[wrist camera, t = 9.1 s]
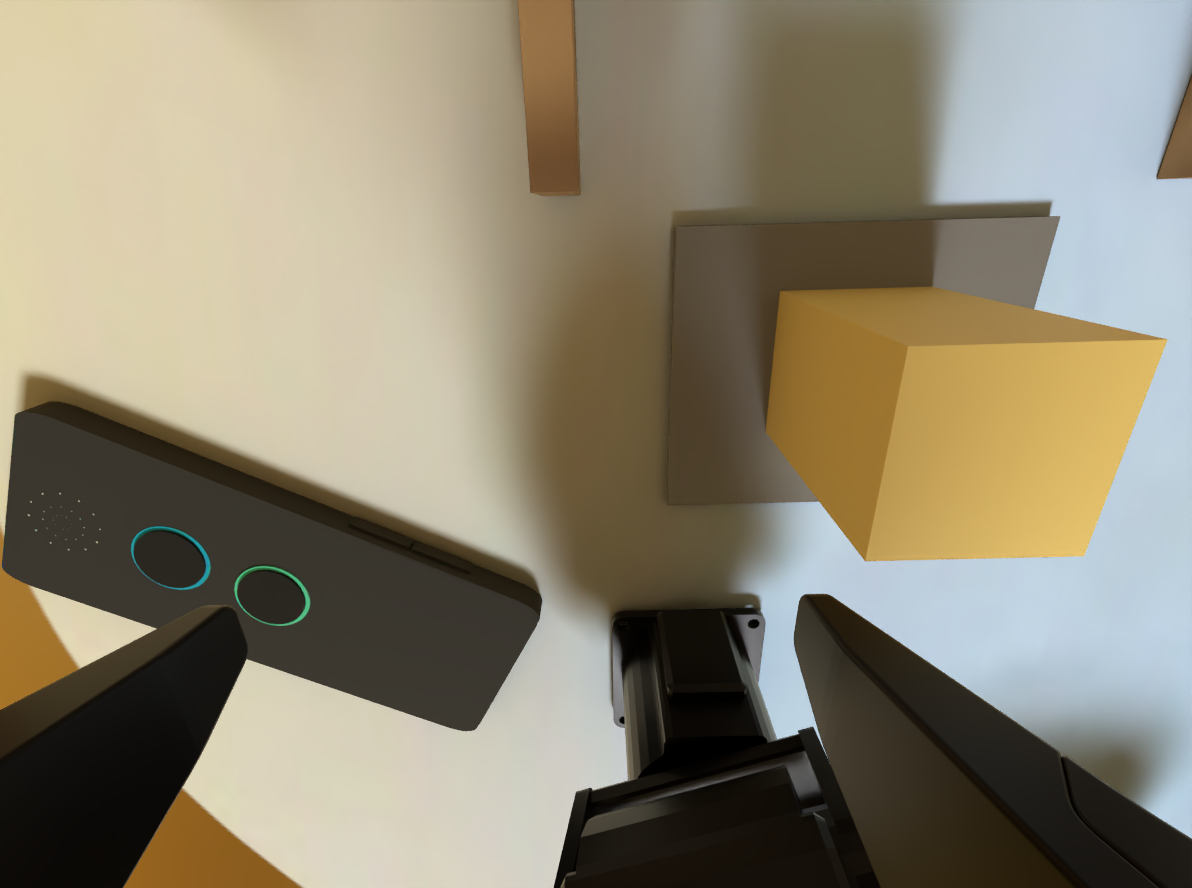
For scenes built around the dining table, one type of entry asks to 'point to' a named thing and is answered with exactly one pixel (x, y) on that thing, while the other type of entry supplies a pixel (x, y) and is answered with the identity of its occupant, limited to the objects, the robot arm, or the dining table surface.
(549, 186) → the wooden u-shaped frame
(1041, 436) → the mustard block
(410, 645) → the smart home device
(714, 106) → the dining table surface
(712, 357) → the gray panel
